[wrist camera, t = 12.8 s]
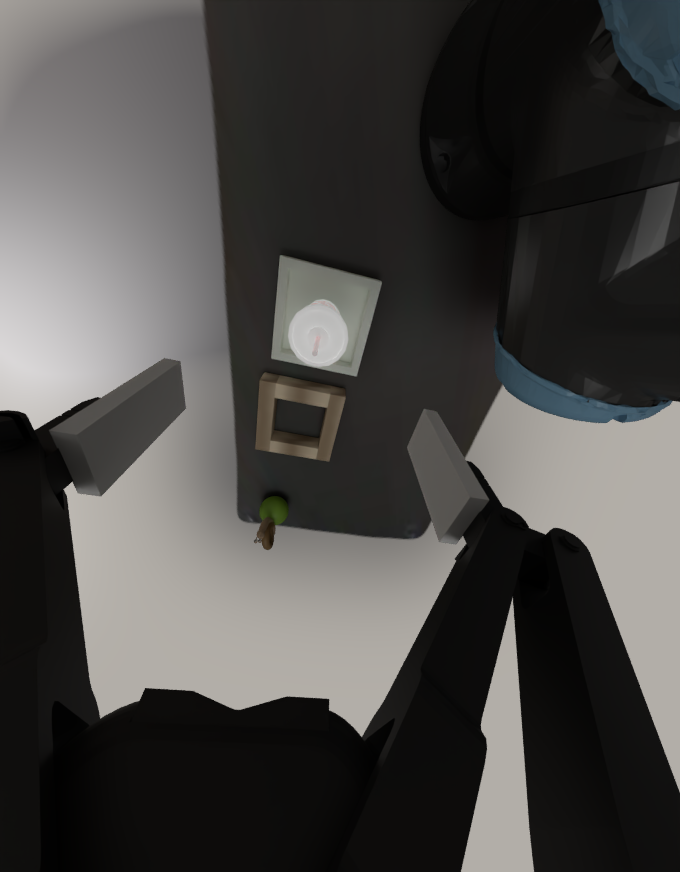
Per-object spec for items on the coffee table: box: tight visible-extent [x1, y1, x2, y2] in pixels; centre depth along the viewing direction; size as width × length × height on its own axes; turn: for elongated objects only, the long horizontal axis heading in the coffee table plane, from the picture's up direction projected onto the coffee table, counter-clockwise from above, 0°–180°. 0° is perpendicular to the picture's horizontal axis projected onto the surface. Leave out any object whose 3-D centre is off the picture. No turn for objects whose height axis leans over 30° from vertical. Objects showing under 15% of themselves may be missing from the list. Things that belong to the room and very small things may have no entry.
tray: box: [271, 255, 382, 376], centre depth 35 cm, size 12×12×2 cm
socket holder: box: [256, 372, 346, 461], centre depth 43 cm, size 12×12×3 cm
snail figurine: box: [254, 496, 289, 550], centre depth 50 cm, size 5×6×12 cm
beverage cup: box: [288, 299, 348, 367], centre depth 29 cm, size 6×6×14 cm
